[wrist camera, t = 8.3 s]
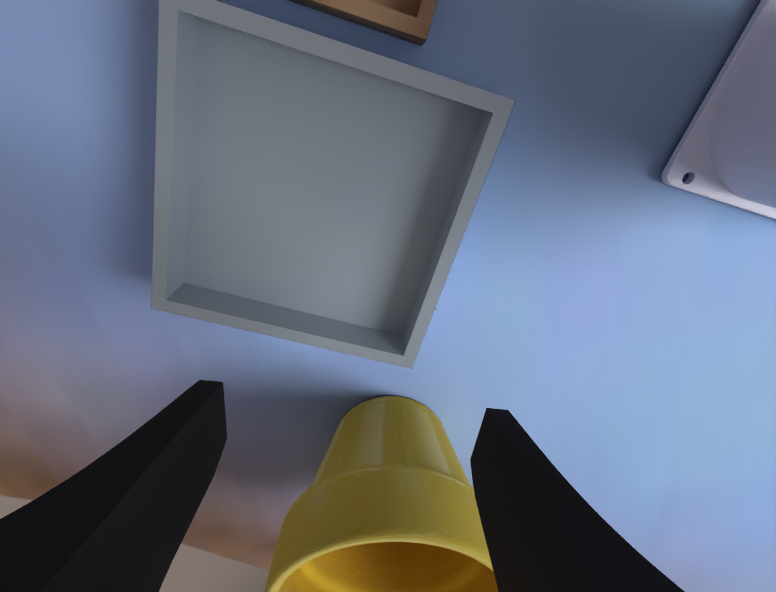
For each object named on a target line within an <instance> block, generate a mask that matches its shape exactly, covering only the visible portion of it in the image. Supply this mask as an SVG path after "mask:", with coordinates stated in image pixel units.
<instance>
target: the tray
mask: <svg viewBox="0 0 776 592" xmlns="http://www.w3.org/2000/svg"><path fill="white" fill-rule="evenodd" d="M290 1H293V2H295V3H298V4H301V5H304V6H307V7H310V8H313V9H316V10H319V11H322V12H325V13H328V14H331V15H334V16H336V17H339V18H342V19H345V20H348V21H351V22H354V23H357V24H360V25H363V26H366V27H369V28H372V29H375V30H378V31H380V32H383V33H386V34H389V35H392V36H395V37H398V38H401V39H404V40H407V41H410V42H413V43H416V44H419V45H421V46H422V45H423V43H424V42H425V41H426V39H427V35H428V32H429V28H430V25H431V21H432V18H433V14H434V10H435V7H436V3H437V0H290Z"/></svg>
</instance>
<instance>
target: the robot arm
mask: <svg viewBox="0 0 776 592" xmlns="http://www.w3.org/2000/svg"><path fill="white" fill-rule="evenodd" d="M688 172H689V177H688V179H687V180H686V181H684V182H683V181H682V179H683V176H684V175H685V174H686V173H688ZM662 181H663V182H664V183H665V184H667V185H670V186H673V187H676V188H679V189H682V190H685V191H688V192H691V193H695V194H698V195H701V196H704V197H707V198H710V199H713V200H716V201H719V202H723V203H726V204H729V205H732V206H735V207H738V208H741V209H744V210H747V211H751V212H754V213H757V214H760V215H763V216H766V217H769V218H772V219H775V220H776V0H761V2H760V3H759V5H758V7H757V9H756V10H755V12H754V14H753V16H752V17H751V19H750V21H749V22H748V24H747V26H746V28H745V29H744V31H743V33H742V35H741V36H740V38H739V40H738V42H737V43H736V45H735V47H734V48H733V50H732V52H731V54H730V55H729V57H728V59H727V61H726V62H725V64H724V66H723V68H722V69H721V71H720V73H719V74H718V76H717V78H716V80H715V81H714V83H713V85H712V87H711V88H710V90H709V92H708V94H707V95H706V97H705V99H704V100H703V102H702V104H701V106H700V107H699V109H698V111H697V113H696V114H695V116H694V118H693V120H692V121H691V123H690V125H689V127H688V128H687V130H686V132H685V133H684V135H683V137H682V139H681V140H680V142H679V144H678V146H677V147H676V149H675V151H674V153H673V154H672V156H671V158H670V159H669V161H668V163H667V165H666V166H665V168H664V170H663V172H662ZM226 440H227V432H226V418H225V403H224V389H223V382H215V381H205V380H199V381H198V382H196V383H195V384H194V385H193V386H191V387H190V388H189V389H188V390H186V391H185V392H184V393H183V394H181V395H180V396H179V397H178V398H177V399H175V400H174V401H173V402H172V403H170V404H169V405H168V406H167V407H165V408H164V409H163V410H162V411H160V412H159V413H158V414H157V415H156V416H154V417H153V418H152V419H150V420H149V421H148V422H147V423H145V424H144V425H143V426H141V427H140V428H139V429H137V430H136V431H135V432H134V433H132V434H131V435H130V436H128V437H127V438H126V439H124V440H123V441H122V442H120V443H119V444H118V445H116V446H115V447H113V448H112V449H111V450H109V451H108V452H106V453H105V454H104V455H102V456H101V457H99V458H98V459H97V460H95V461H94V462H92V463H91V464H90V465H88V466H87V467H85V468H84V469H82V470H81V471H79V472H78V473H76V474H75V475H73V476H72V477H70V478H69V479H67V480H66V481H64V482H62V483H61V484H59V485H58V486H56V487H54V488H53V489H51V490H50V491H48V492H46V493H45V494H43V495H42V496H40V497H38V498H37V499H35V500H33V501H32V502H30V503H28V504H27V505H25V506H23V507H21V508H19V509H18V510H16V511H14V512H12V513H10V514H9V515H7V516H5V517H4V518H2V519H0V592H159V590H160V588H161V585H162V582H163V580H164V578H165V576H166V573H167V571H168V569H169V567H170V564H171V562H172V560H173V558H174V556H175V554H176V552H177V550H178V548H179V546H180V544H181V542H182V540H183V538H184V536H185V534H186V532H187V530H188V528H189V526H190V524H191V522H192V520H193V518H194V516H195V513H196V511H197V509H198V507H199V505H200V503H201V501H202V499H203V497H204V495H205V493H206V491H207V489H208V487H209V485H210V483H211V480H212V478H213V476H214V474H215V471H216V468H217V466H218V463H219V460H220V457H221V454H222V451H223V448H224V445H225V443H226ZM470 461H471V470H472V479H473V486H474V493H475V499H476V503H477V507H478V512H479V516H480V520H481V524H482V528H483V532H484V536H485V540H486V544H487V548H488V552H489V556H490V560H491V564H492V568H493V572H494V576H495V580H496V583H497V588H498V592H684V591H683V590H682V589H681V588H679V587H678V586H677V585H676V584H675V583H674V582H672V581H671V580H670V579H669V578H668V577H666V576H665V575H664V574H663V573H662V572H660V571H659V570H658V569H657V568H656V567H655V566H653V565H652V564H651V563H650V562H649V561H648V560H646V559H645V558H644V557H643V556H642V555H641V554H640V553H639V552H637V551H636V550H635V549H634V548H633V547H632V546H631V545H630V544H629V543H628V542H627V541H626V540H625V539H624V538H622V537H621V536H620V535H619V534H618V533H617V532H616V531H615V530H614V529H613V528H612V527H611V526H610V525H609V524H608V523H607V522H606V521H605V520H604V519H603V518H602V517H601V516H600V515H599V514H598V513H597V512H596V511H595V510H594V509H593V508H592V507H591V506H590V505H589V504H588V503H587V502H586V501H585V500H584V499H583V498H582V497H581V495H580V494H579V493H578V492H577V491H576V490H575V489H574V488H573V487H572V486H571V485H570V484H569V482H568V481H567V480H566V479H565V478H564V477H563V476H562V475H561V473H560V472H559V471H558V470H557V469H556V468H555V466H554V465H553V464H552V463H551V462H550V461H549V459H548V458H547V457H546V456H545V455H544V453H543V452H542V451H541V450H540V449H539V447H538V446H537V445H536V444H535V442H534V441H533V440H532V439H531V438H530V436H529V435H528V434H527V433H526V431H525V430H524V429H523V428H522V426H521V425H520V424H519V423H518V421H517V420H516V419H515V418H514V417H513V415H512V414H511V413H510V412H509V411H508V410H502V409H492V408H486V412H485V415H484V418H483V421H482V424H481V428H480V431H479V434H478V437H477V440H476V443H475V447H474V450H473V453H472V456H471V459H470Z"/></svg>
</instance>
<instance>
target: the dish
mask: <svg viewBox="0 0 776 592" xmlns="http://www.w3.org/2000/svg"><path fill="white" fill-rule="evenodd" d="M515 101H516V100H513V99H510V98H507V97H504V96H501V95H498V94H495V93H492V92H489V91H486V90H483V89H480V88H477V87H474V86H471V85H468V84H465V83H462V82H459V81H456V80H453V79H450V78H447V77H444V76H441V75H438V74H435V73H432V72H429V71H426V70H423V69H420V68H417V67H414V66H411V65H408V64H405V63H402V62H399V61H396V60H393V59H390V58H387V57H384V56H381V55H378V54H375V53H372V52H369V51H366V50H363V49H360V48H357V47H354V46H351V45H348V44H345V43H342V42H339V41H336V40H333V39H330V38H327V37H324V36H321V35H318V34H315V33H312V32H309V31H306V30H303V29H300V28H297V27H294V26H291V25H288V24H285V23H282V22H279V21H276V20H273V19H270V18H267V17H264V16H261V15H258V14H255V13H252V12H249V11H246V10H243V9H240V8H237V7H234V6H231V5H228V4H225V3H222V2H219V1H216V0H159V22H158V62H157V102H156V142H155V181H154V221H153V261H152V301H151V308H152V309H156V310H161V311H165V312H169V313H174V314H178V315H182V316H187V317H191V318H195V319H200V320H204V321H208V322H213V323H217V324H221V325H225V326H230V327H234V328H238V329H243V330H247V331H251V332H256V333H260V334H264V335H269V336H273V337H277V338H282V339H286V340H290V341H294V342H299V343H303V344H307V345H312V346H316V347H320V348H325V349H329V350H333V351H338V352H342V353H346V354H351V355H355V356H359V357H364V358H368V359H372V360H376V361H381V362H385V363H389V364H394V365H398V366H402V367H407V368H411V369H412V367H413V364H414V362H415V359H416V356H417V354H418V351H419V349H420V346H421V344H422V341H423V338H424V336H425V333H426V331H427V328H428V325H429V323H430V320H431V318H432V315H433V313H434V310H435V307H436V305H437V302H438V300H439V297H440V294H441V292H442V289H443V287H444V284H445V282H446V279H447V276H448V274H449V271H450V269H451V266H452V264H453V261H454V258H455V256H456V253H457V251H458V248H459V245H460V243H461V240H462V238H463V235H464V233H465V230H466V227H467V225H468V222H469V220H470V217H471V214H472V212H473V209H474V207H475V204H476V202H477V199H478V196H479V194H480V191H481V189H482V186H483V183H484V181H485V178H486V176H487V173H488V171H489V168H490V165H491V163H492V160H493V158H494V155H495V152H496V150H497V147H498V145H499V142H500V140H501V137H502V134H503V132H504V129H505V127H506V124H507V121H508V119H509V116H510V114H511V111H512V109H513V106H514V103H515Z"/></svg>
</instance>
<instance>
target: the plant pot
mask: <svg viewBox="0 0 776 592" xmlns="http://www.w3.org/2000/svg"><path fill="white" fill-rule="evenodd" d="M265 592H498V588H497V583H496V580H495V576H494V572H493V568H492V564H491V560H490V556H489V552H488V548H487V544H486V540H485V536H484V532H483V528H482V524H481V520H480V516H479V512H478V507H477V503H476V499H475V493H474V488H473V487H471V485H470V483H469V481H468V479H467V477H466V475H465V473H464V471H463V468H462V466H461V464H460V462H459V460H458V458H457V456H456V454H455V452H454V450H453V448H452V445H451V443H450V441H449V439H448V437H447V435H446V433H445V430H444V428H443V426H442V424H441V422H440V420H439V419H438V417H437V416H436V415H435V414H434V412H433V411H431V410H430V409H429V408H428V407H426V406H425V405H423V404H421V403H420V402H417V401H415V400H412V399H409V398H405V397H400V396H383V397H376V398H373V399H369V400H367V401H364V402H362V403H360V404H358V405H357V406H355V407H354V408H352V409H351V410H350V411H349V412H348V413H347V414H346V415H345V416H344V417H343V418H342V420H341V421H340V423H339V425H338V427H337V429H336V431H335V433H334V436H333V438H332V441H331V443H330V445H329V447H328V450H327V452H326V454H325V456H324V458H323V460H322V462H321V465H320V467H319V469H318V471H317V473H316V475H315V477H314V480H313V482H312V484H311V486H310V488H309V489H308V490H306V491H305V492H304V493H303V494H302V495H301V496H300V497H299V498H298V499H297V500H296V501H295V502H294V503H293V505H292V506H291V508H290V509H289V511H288V513H287V515H286V517H285V519H284V522H283V525H282V528H281V531H280V534H279V538H278V541H277V544H276V547H275V551H274V555H273V559H272V563H271V567H270V571H269V575H268V579H267V584H266V587H265Z"/></svg>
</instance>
